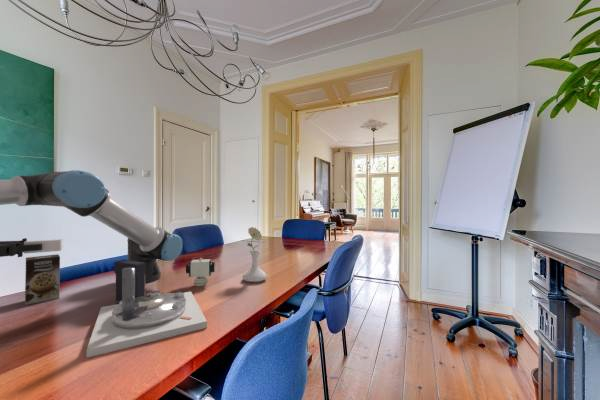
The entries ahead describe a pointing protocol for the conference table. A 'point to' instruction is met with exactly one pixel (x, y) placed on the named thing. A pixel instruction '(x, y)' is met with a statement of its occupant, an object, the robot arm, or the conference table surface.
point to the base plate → (142, 329)
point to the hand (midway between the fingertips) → (61, 245)
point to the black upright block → (138, 277)
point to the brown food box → (42, 278)
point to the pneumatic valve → (200, 270)
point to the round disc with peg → (145, 305)
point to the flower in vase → (254, 260)
